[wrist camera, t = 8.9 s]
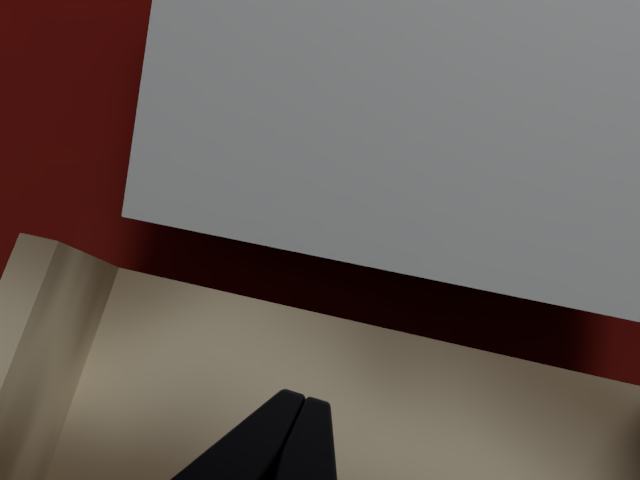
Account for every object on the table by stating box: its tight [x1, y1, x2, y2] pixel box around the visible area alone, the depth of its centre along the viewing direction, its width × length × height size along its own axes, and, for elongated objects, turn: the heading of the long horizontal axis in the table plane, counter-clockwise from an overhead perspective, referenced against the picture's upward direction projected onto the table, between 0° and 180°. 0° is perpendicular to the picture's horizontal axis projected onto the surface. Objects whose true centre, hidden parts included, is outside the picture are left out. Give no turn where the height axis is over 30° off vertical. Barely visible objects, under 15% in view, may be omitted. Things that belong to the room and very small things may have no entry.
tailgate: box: [122, 0, 640, 322], centre depth 14 cm, size 2×15×13 cm
